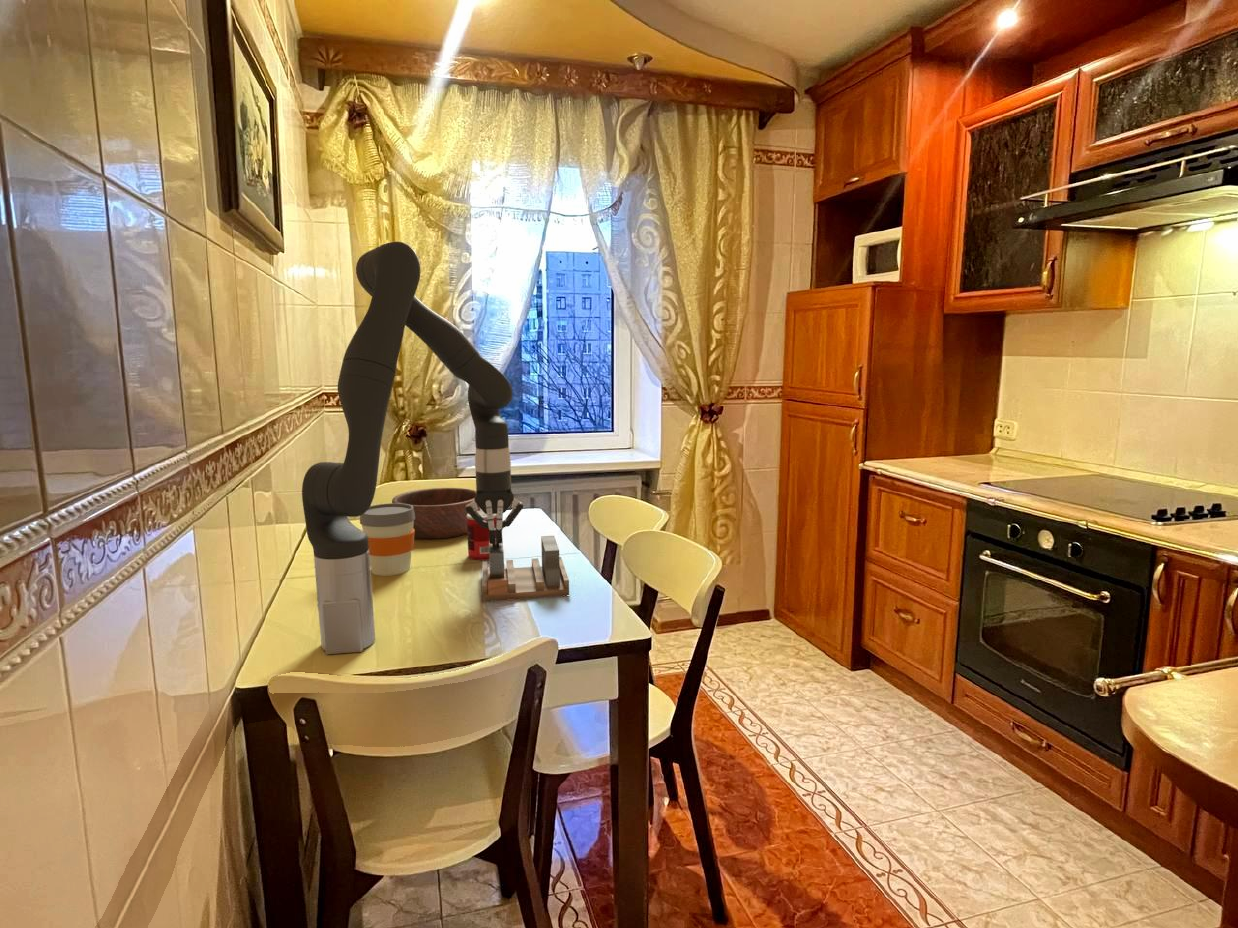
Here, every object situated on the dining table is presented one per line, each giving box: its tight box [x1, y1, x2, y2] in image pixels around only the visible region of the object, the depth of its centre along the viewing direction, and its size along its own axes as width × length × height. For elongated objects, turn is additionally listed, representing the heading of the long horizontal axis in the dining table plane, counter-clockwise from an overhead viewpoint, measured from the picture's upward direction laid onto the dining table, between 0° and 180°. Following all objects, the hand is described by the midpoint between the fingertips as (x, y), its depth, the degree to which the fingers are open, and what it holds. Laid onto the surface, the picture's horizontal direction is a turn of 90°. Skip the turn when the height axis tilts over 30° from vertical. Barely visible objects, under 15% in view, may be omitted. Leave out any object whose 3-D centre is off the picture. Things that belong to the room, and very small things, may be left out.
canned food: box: [466, 510, 497, 561], centre depth 182 cm, size 8×8×11 cm
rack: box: [481, 535, 570, 603], centre depth 160 cm, size 17×18×10 cm
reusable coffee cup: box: [359, 502, 415, 577], centre depth 172 cm, size 13×13×15 cm
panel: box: [488, 537, 505, 579], centre depth 159 cm, size 12×3×8 cm, turn 10°
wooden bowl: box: [391, 487, 481, 540], centre depth 207 cm, size 25×25×10 cm
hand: (496, 545), depth 158 cm, fingers closed
